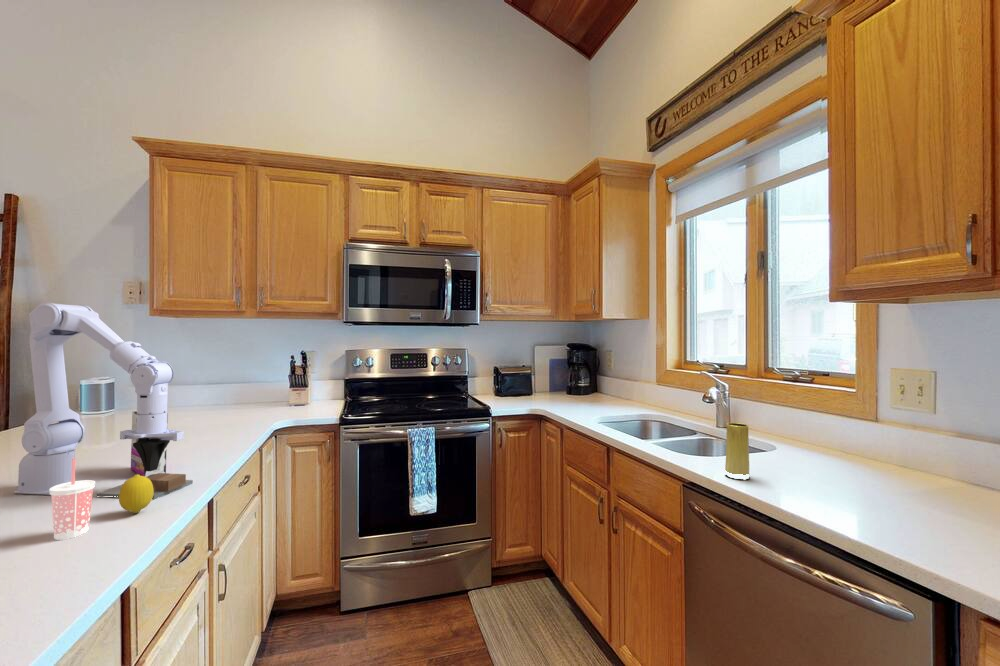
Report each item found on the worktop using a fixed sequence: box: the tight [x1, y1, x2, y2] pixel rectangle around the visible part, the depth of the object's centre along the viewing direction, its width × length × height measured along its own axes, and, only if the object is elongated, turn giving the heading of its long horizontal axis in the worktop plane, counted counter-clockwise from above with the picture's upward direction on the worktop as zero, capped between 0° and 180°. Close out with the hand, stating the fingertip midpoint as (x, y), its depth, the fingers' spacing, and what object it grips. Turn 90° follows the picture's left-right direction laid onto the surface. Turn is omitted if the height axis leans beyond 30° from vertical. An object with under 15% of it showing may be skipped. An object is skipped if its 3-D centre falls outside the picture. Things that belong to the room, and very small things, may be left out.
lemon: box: [118, 474, 154, 514], centre depth 91 cm, size 6×6×8 cm
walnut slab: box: [147, 472, 187, 491], centre depth 104 cm, size 2×5×7 cm
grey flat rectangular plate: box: [96, 479, 194, 500], centre depth 104 cm, size 14×11×1 cm
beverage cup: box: [49, 457, 96, 541], centre depth 81 cm, size 6×6×14 cm
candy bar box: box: [130, 409, 169, 477], centre depth 118 cm, size 11×5×16 cm, turn 55°
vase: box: [724, 422, 750, 475], centre depth 119 cm, size 6×6×14 cm
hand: (151, 470), depth 104 cm, fingers closed
